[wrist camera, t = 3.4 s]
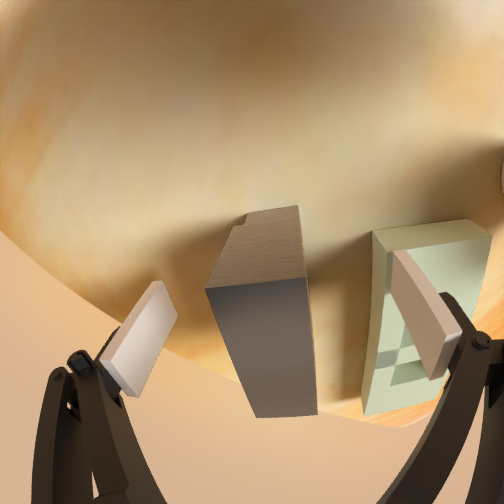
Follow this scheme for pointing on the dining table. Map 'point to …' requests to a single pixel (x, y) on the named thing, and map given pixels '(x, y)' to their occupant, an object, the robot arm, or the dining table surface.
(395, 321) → the block with rectangular hole
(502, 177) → the cup
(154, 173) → the dining table surface
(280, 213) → the grey foam block
